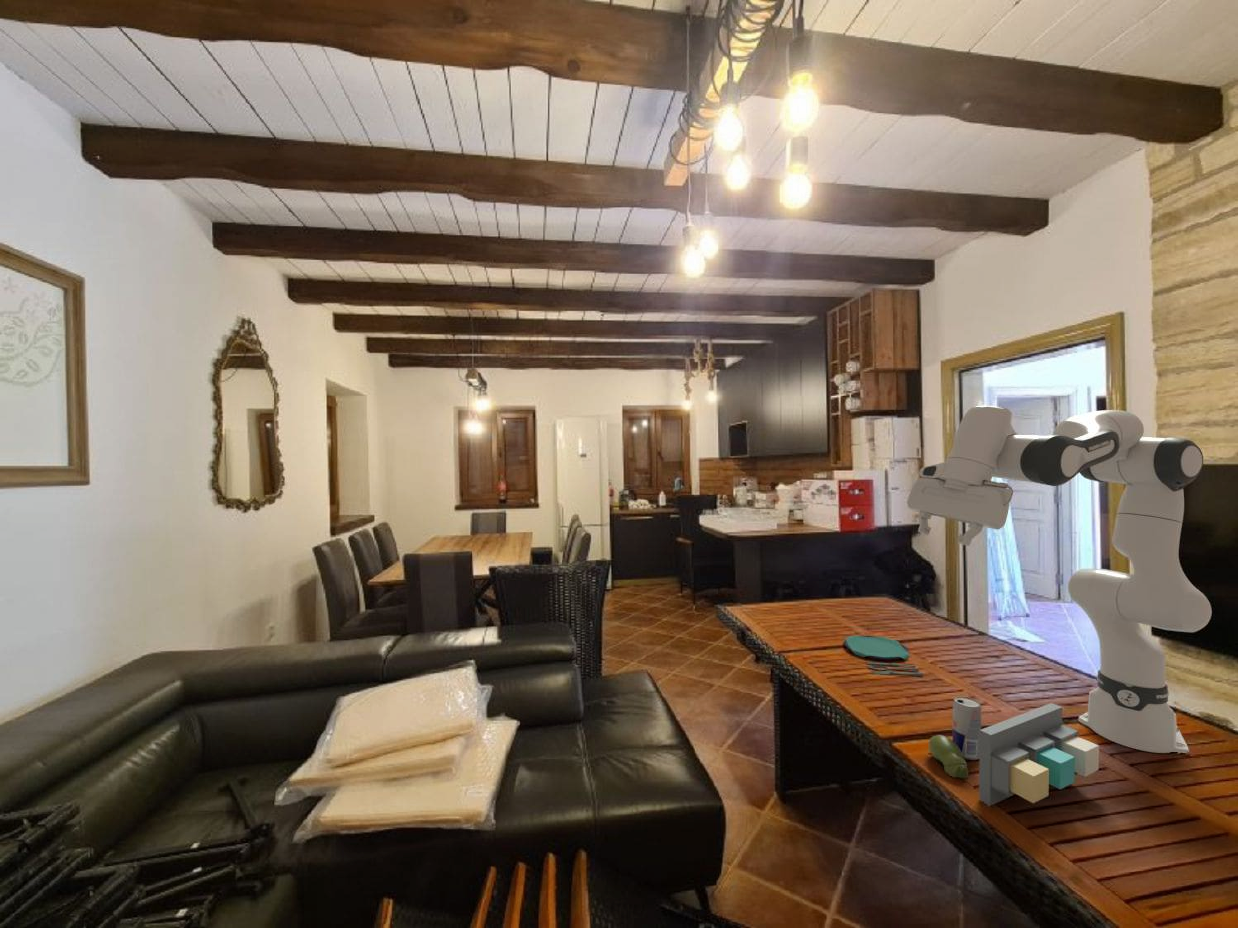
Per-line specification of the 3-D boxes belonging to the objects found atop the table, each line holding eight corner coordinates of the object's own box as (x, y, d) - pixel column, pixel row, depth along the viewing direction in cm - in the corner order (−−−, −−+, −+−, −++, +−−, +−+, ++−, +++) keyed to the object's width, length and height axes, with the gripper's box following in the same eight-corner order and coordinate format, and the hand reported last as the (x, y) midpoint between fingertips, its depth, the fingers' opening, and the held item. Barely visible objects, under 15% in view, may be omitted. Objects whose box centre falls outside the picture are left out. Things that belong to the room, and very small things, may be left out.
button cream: (1071, 757, 108) (1071, 734, 107) (1098, 769, 103) (1098, 745, 103) (1058, 763, 105) (1058, 739, 105) (1085, 776, 101) (1085, 751, 101)
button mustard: (1021, 781, 100) (1021, 756, 100) (1048, 795, 96) (1048, 768, 96) (1006, 788, 98) (1006, 762, 98) (1033, 803, 94) (1033, 776, 94)
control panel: (1050, 766, 112) (1051, 702, 112) (1078, 779, 107) (1079, 713, 107) (979, 799, 101) (979, 729, 101) (1007, 816, 97) (1008, 742, 96)
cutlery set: (897, 642, 185) (897, 635, 185) (930, 680, 155) (930, 672, 155) (838, 639, 189) (838, 633, 189) (860, 675, 159) (860, 668, 159)
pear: (950, 730, 116) (978, 763, 107) (947, 750, 117) (974, 785, 108) (925, 729, 117) (950, 763, 107) (922, 749, 118) (947, 784, 108)
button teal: (1047, 769, 104) (1047, 744, 104) (1074, 782, 100) (1074, 756, 100) (1033, 775, 102) (1033, 750, 102) (1060, 789, 98) (1060, 763, 97)
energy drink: (953, 744, 121) (954, 693, 120) (981, 752, 117) (982, 700, 117) (950, 754, 116) (951, 702, 116) (979, 763, 113) (980, 709, 113)
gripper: (1026, 489, 100) (1001, 556, 100) (933, 476, 119) (912, 532, 119) (1005, 478, 98) (979, 546, 98) (914, 467, 117) (893, 523, 117)
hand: (942, 538), depth 108 cm, fingers open, 8 cm apart
